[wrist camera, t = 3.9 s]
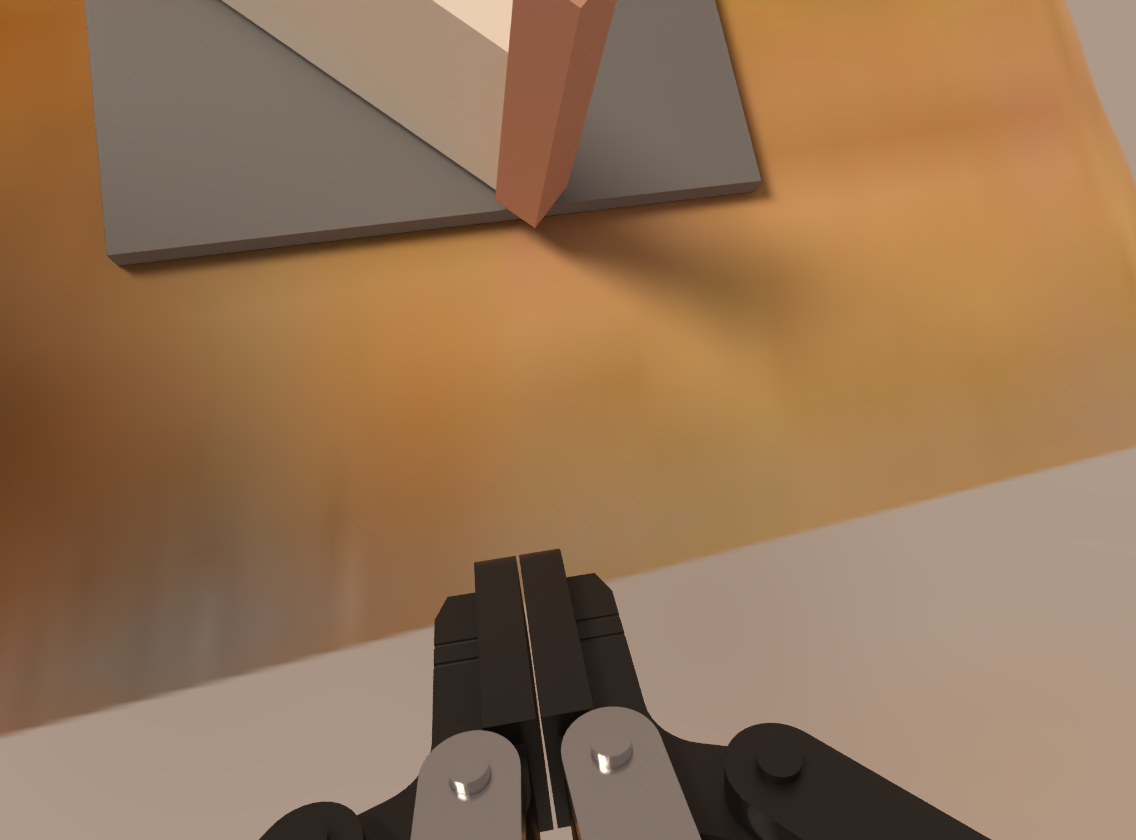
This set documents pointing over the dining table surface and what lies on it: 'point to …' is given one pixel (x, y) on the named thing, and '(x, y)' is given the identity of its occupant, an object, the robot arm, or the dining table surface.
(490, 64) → the gate
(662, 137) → the mat
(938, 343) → the dining table surface
